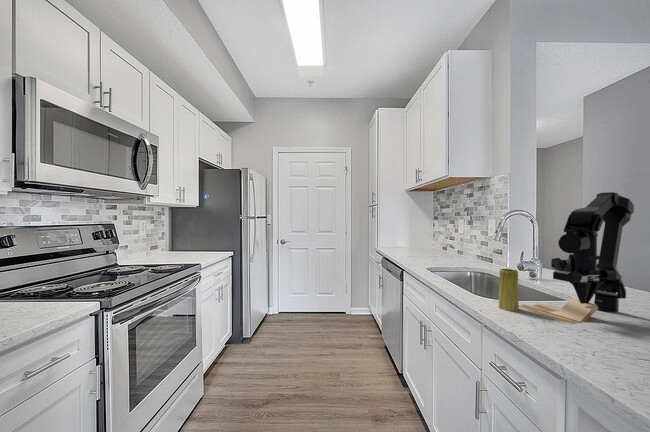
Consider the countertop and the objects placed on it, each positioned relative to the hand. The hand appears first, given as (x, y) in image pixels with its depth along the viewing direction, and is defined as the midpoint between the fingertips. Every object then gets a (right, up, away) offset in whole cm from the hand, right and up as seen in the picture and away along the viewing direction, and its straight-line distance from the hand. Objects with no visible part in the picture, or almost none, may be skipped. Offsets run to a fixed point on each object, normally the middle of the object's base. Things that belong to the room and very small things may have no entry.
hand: (584, 303), depth 101 cm
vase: (-18, -6, +9) cm, 21 cm away
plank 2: (-2, -3, +1) cm, 4 cm away
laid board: (-10, -6, +4) cm, 12 cm away
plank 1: (-5, -6, +11) cm, 13 cm away
